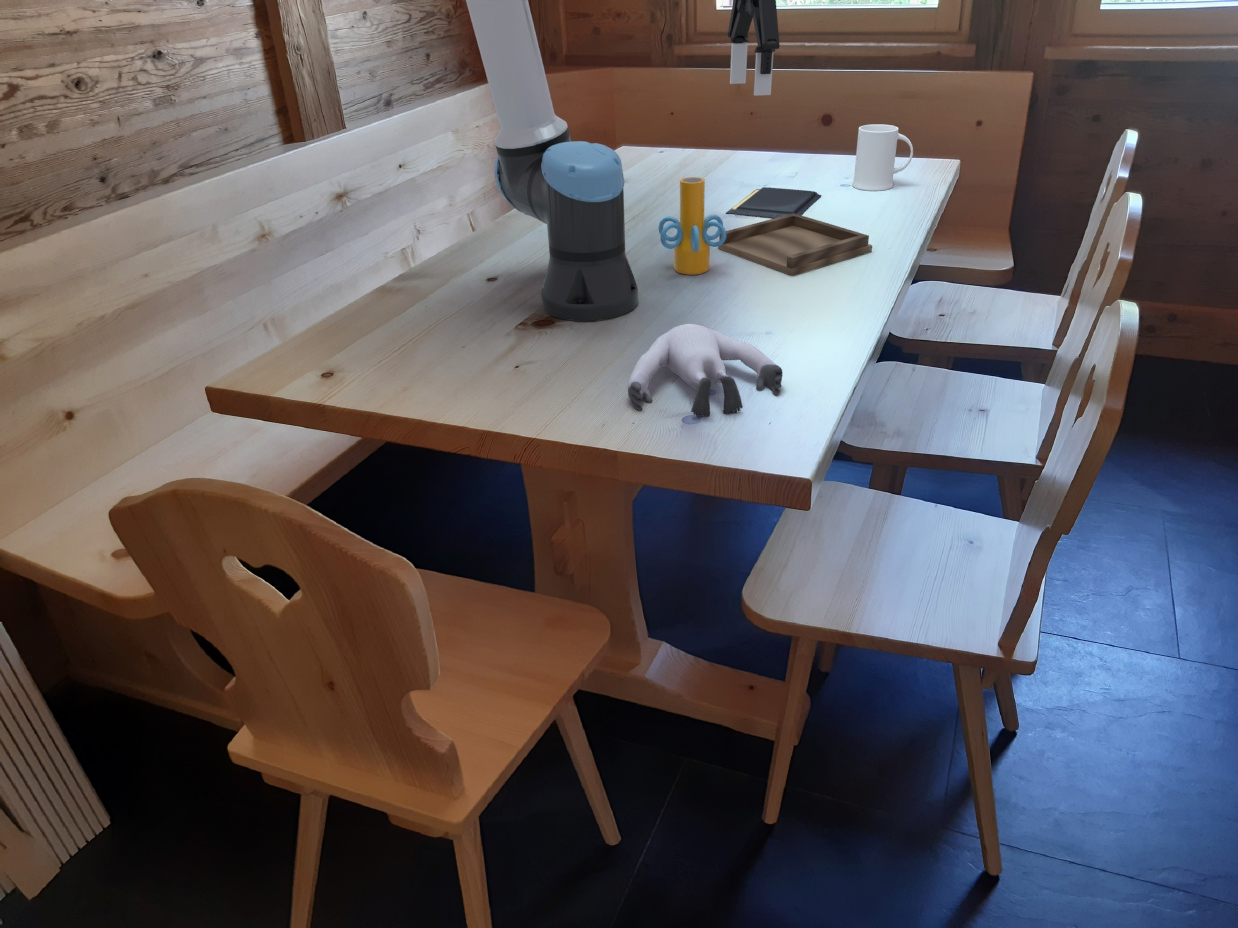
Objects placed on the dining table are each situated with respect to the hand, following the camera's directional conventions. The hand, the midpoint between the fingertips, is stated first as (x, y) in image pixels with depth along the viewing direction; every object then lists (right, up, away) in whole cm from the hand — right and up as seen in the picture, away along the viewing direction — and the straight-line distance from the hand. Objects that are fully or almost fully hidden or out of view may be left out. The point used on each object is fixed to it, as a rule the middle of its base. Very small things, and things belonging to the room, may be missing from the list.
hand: (749, 89), depth 157 cm
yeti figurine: (-12, -54, -38) cm, 67 cm away
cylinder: (-10, -32, -2) cm, 33 cm away
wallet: (+10, -12, +31) cm, 34 cm away
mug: (+34, -5, +39) cm, 52 cm away
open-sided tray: (+9, -27, +5) cm, 28 cm away
